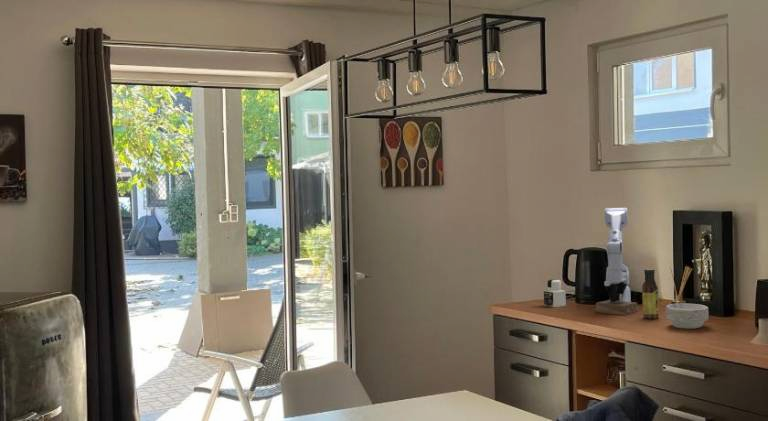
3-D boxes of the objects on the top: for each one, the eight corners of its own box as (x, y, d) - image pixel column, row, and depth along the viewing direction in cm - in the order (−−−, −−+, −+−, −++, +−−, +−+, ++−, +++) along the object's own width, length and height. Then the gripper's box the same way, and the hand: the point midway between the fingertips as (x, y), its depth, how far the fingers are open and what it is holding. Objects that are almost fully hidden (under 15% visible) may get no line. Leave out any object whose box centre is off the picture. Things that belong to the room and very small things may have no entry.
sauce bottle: (659, 319, 336) (658, 270, 336) (643, 319, 338) (642, 270, 337) (658, 316, 343) (656, 268, 342) (642, 316, 344) (640, 268, 343)
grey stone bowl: (706, 331, 308) (706, 309, 308) (663, 329, 315) (663, 308, 314) (710, 324, 321) (710, 303, 321) (669, 322, 328) (669, 302, 328)
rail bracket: (612, 311, 360) (611, 292, 360) (622, 312, 357) (622, 293, 356) (609, 311, 359) (609, 293, 359) (620, 312, 355) (619, 294, 355)
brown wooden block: (608, 309, 366) (608, 300, 366) (637, 311, 356) (637, 302, 356) (595, 312, 359) (595, 302, 359) (624, 315, 349) (624, 305, 349)
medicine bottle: (543, 305, 383) (543, 279, 382) (556, 304, 386) (555, 278, 385) (553, 307, 376) (552, 281, 376) (566, 306, 379) (565, 279, 379)
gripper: (616, 267, 365) (617, 298, 365) (597, 270, 355) (598, 302, 355) (630, 268, 360) (631, 299, 360) (612, 271, 350) (613, 303, 350)
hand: (616, 300), depth 357 cm, fingers open, 5 cm apart
